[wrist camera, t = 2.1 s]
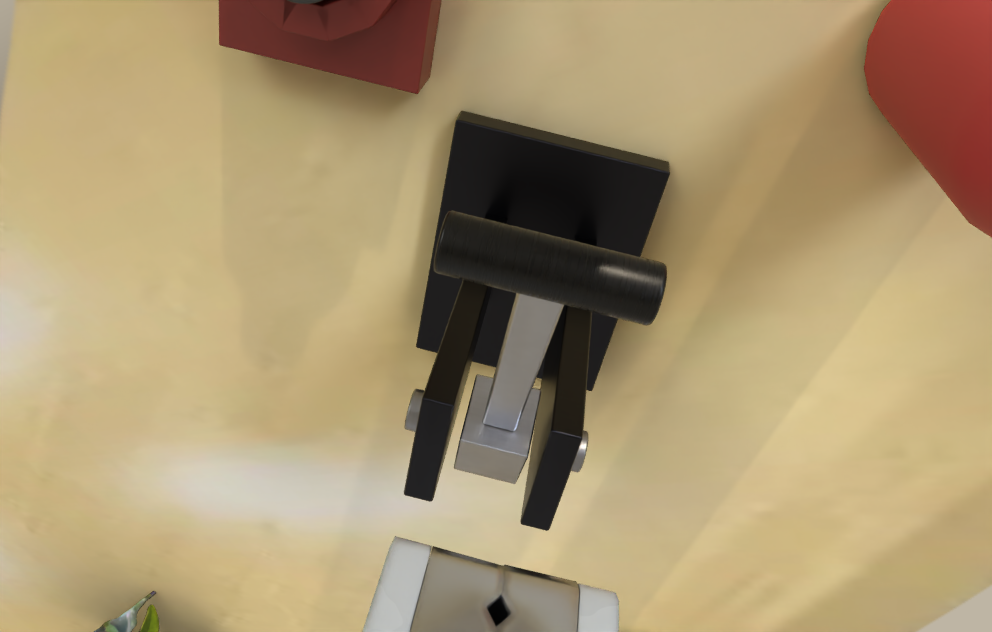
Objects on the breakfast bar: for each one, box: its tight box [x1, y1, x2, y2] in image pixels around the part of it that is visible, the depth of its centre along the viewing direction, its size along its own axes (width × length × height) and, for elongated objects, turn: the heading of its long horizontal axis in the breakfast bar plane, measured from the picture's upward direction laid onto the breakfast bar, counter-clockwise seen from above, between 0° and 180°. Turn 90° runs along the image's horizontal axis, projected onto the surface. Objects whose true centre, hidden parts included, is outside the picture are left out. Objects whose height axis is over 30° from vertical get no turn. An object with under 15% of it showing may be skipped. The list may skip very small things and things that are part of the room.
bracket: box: [404, 111, 670, 531], centre depth 30 cm, size 12×9×14 cm
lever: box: [434, 211, 667, 484], centre depth 22 cm, size 12×5×2 cm, turn 168°
